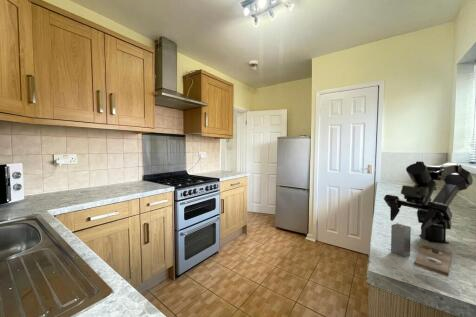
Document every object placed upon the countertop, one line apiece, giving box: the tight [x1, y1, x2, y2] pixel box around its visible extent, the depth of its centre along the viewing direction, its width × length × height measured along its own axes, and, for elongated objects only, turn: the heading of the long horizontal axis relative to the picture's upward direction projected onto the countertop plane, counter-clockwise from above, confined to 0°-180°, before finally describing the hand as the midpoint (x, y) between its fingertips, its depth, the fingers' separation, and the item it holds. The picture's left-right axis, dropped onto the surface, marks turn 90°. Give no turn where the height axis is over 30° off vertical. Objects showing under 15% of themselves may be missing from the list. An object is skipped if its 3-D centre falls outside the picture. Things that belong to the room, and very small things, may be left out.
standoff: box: [390, 222, 412, 258], centre depth 70 cm, size 4×4×10 cm
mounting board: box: [413, 243, 453, 276], centre depth 66 cm, size 18×8×2 cm, turn 130°
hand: (405, 224), depth 71 cm, fingers open, 9 cm apart
